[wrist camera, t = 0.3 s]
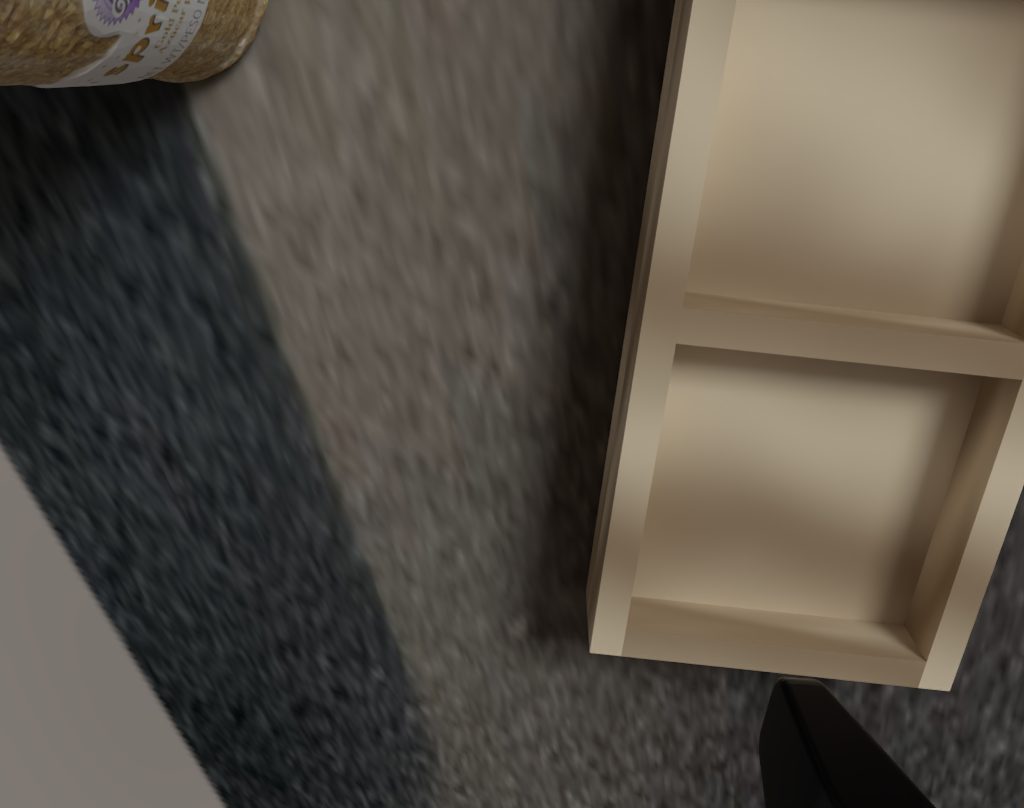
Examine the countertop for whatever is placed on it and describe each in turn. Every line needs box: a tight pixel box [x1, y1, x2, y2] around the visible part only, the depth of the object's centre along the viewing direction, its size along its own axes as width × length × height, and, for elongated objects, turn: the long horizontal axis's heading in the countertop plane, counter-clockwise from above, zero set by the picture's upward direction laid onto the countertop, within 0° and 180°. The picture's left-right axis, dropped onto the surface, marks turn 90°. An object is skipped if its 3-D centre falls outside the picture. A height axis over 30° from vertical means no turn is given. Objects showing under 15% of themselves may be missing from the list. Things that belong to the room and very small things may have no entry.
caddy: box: [586, 0, 1024, 691], centre depth 20 cm, size 17×9×3 cm, turn 174°
